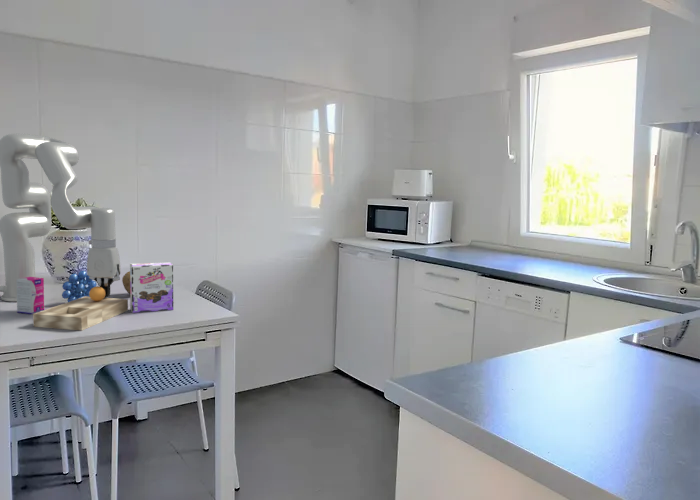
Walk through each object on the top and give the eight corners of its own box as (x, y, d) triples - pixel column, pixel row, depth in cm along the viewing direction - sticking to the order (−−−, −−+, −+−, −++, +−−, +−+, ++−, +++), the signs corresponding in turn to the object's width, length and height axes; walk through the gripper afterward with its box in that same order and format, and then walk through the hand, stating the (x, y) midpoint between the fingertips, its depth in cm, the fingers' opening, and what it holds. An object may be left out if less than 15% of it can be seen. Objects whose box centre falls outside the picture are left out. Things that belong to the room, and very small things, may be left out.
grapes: (92, 299, 198) (91, 267, 196) (99, 302, 193) (98, 270, 191) (58, 303, 190) (57, 270, 188) (64, 307, 185) (63, 273, 183)
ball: (86, 302, 177) (85, 287, 176) (95, 298, 182) (94, 284, 181) (99, 303, 176) (99, 288, 175) (108, 299, 181) (108, 285, 180)
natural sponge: (143, 291, 212) (142, 267, 211) (151, 296, 206) (150, 270, 205) (119, 294, 207) (119, 269, 205) (127, 298, 200) (126, 273, 199)
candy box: (131, 313, 180) (130, 265, 178) (130, 309, 185) (129, 263, 183) (173, 310, 186) (173, 264, 184) (171, 306, 191) (170, 261, 189)
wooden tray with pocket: (33, 326, 161) (33, 313, 160) (85, 307, 185) (85, 296, 185) (81, 330, 159) (81, 317, 158) (128, 310, 183) (127, 299, 183)
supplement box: (32, 314, 174) (30, 280, 172) (16, 313, 175) (15, 279, 174) (45, 310, 180) (44, 277, 178) (30, 309, 181) (28, 276, 179)
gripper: (76, 244, 178) (78, 297, 180) (117, 246, 176) (119, 300, 178) (90, 241, 185) (91, 293, 188) (130, 244, 183) (131, 295, 186)
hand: (105, 296), depth 183 cm, fingers closed
